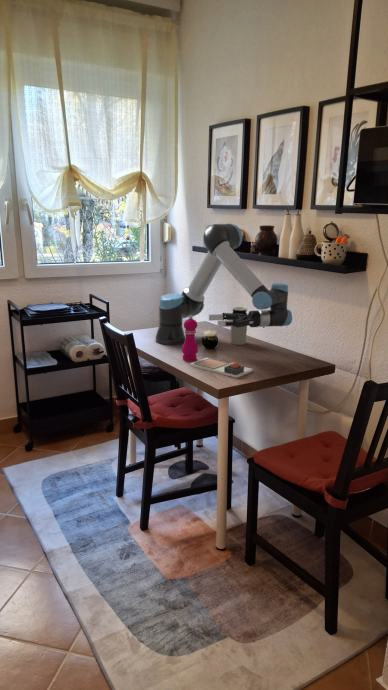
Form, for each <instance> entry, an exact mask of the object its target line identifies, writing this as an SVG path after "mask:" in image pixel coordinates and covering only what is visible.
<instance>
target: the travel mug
mask: <svg viewBox="0 0 388 690" xmlns="http://www.w3.org/2000/svg"><path fill="white" fill-rule="evenodd" d="M247 311H248V308H247V307H244V306H243V307H242V306H234V307H232V313H234V314H245V315H248V313H247ZM247 331H248V326H243V327H238V328H236V326H235V327H233V326H230V337H229V338H230V339H229V342H230V344H232V345H236V346H243V345H246V344H247Z"/></svg>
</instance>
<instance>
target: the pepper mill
mask: <svg viewBox="0 0 388 690" xmlns="http://www.w3.org/2000/svg"><path fill="white" fill-rule="evenodd" d="M197 327H198V322H197V321H196V319H194V316H189V317H188V319H187V318H186V320H184V322H183V329H184V334H185V342H184V343H182V346H181V353H182V354H183V355H182V360H183V361H185V362H196V361H197V353H198V351H199V347H198V345H197V342H196V338H195V337H196V334H197V330H196V329H197Z"/></svg>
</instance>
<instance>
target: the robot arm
mask: <svg viewBox="0 0 388 690" xmlns="http://www.w3.org/2000/svg"><path fill="white" fill-rule="evenodd" d="M242 233H243V232H242V230H241V228H239V227H238V226H237V225H236V224H232V223H215V224H214V223H213V224H211V225H209V226H208V227H207V228H206V229H205V230H204V232H203V238H202V239H203V244H204V247H205V248H206V249H207V253H206V254H205V257H204V258H203V260H202V262H201V263H200V266H199V267H198V270H197V271H196V273H195V275H194V276H193V279H192V280H191V282H190V284H189V286H186V287H185V288H184V289H183V290H182V293H181V294H180V293H167V294H164V295H163V294H162V296H160V297H159V304H158V315H159V316H158V321H159V323H158V325H159V326H158V329H157V332H156V335H155V342H156V343H158V344H162V345H171V346H172V345H173V346H175V345H176V346H177V345H181V344H182V345H183V344H184V342H185V339H186V334H185V330H184V326H183V319H187V318H189V316H192V317H195V316H197V315H200V313H201V312H203V311H204V307H205V296H204V295H205V294H206V292H207V290H208V288H209V287H210V285H211V283H212V281H213V279H214V278H215V276H216V274H217V272H218V270H219V269H220V267H221V265H223V266H224V267H225V268H226V270H228V271H229V273H230V274H231V275H232V277H234V279H235V280H236V281H237V282H238V283H239V284H240V286H241V287H242V288H243V289H244V290H245V291H246V292H247V294H248V295H249V296H250V297H251V300H252V302H251V303H252V305H253V307H254V308H256V309H257V310H249V311H248V313H247V315H245V314H234V313H233V312H231V313H229V312H222V313H214V314H213V313H212V314H211V313H210V314H208V321H210V322H211V321H217V328H223V327H224V328H225V327H230V328H231V326H233V327H235V326H236V328H238V327H243V326H247V327H248V326H249V327H250V328H262V329H265V327H267V328H268V327H284V326H285V327H286V326H290V325H291V324H292V321H293V315H292V311H291V310H290V309H288V298H289V285H288V284H287V283H282V282H281V283H279V282H278V283H272V284H271V288H270V289H268V288H267V287H266V286H265V285H264V283H263V282H262V281H261V280H260V278H258V277H257V275H256V274H255V273H254V272H253V271H252V270H251V269H250V267H249V266H248V265H247V264H246V263H245V262H244V260H242V259H241V257H240V256H239V255H238V254H237V253H236V252H235V249H238V248H239V247H240V246H241V244H242V242H243V234H242ZM268 309H269V310H268Z"/></svg>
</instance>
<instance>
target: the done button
mask: <svg viewBox="0 0 388 690" xmlns="http://www.w3.org/2000/svg"><path fill="white" fill-rule="evenodd" d="M229 363H230V368H233V369H237V368H239V366H240V363H239V362H238V361H230V362H229Z"/></svg>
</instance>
